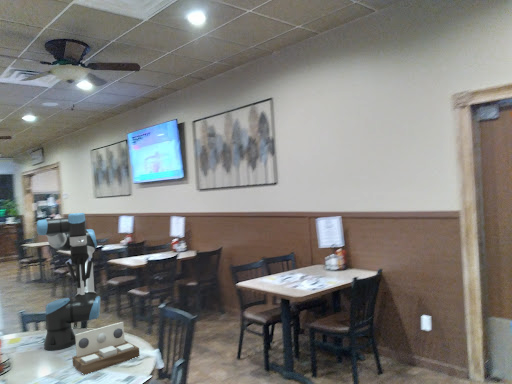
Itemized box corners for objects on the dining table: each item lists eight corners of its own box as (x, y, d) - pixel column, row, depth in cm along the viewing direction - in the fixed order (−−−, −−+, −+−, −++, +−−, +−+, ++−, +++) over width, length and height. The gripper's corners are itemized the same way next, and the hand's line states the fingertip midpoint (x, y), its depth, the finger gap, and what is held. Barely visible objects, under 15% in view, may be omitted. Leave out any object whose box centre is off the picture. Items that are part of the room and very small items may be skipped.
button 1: (81, 364, 180) (80, 358, 180) (94, 359, 184) (94, 353, 184) (85, 367, 176) (85, 361, 176) (99, 363, 179) (99, 357, 179)
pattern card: (76, 356, 184) (75, 334, 184) (123, 342, 199) (122, 321, 199) (77, 357, 183) (76, 335, 183) (125, 343, 198) (123, 322, 198)
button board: (72, 365, 184) (72, 356, 184) (126, 349, 201) (125, 340, 201) (84, 375, 173) (83, 365, 173) (139, 356, 189) (139, 347, 189)
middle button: (99, 355, 185) (98, 349, 185) (112, 351, 189) (111, 345, 189) (104, 359, 181) (103, 352, 181) (117, 354, 185) (117, 348, 185)
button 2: (116, 352, 191) (116, 347, 191) (129, 349, 194) (128, 343, 194) (121, 356, 186) (121, 350, 186) (134, 352, 190) (134, 346, 190)
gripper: (66, 247, 189) (70, 298, 189) (95, 243, 198) (98, 292, 197) (61, 246, 195) (65, 296, 194) (89, 243, 203) (93, 290, 203)
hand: (82, 294), depth 196 cm, fingers closed
